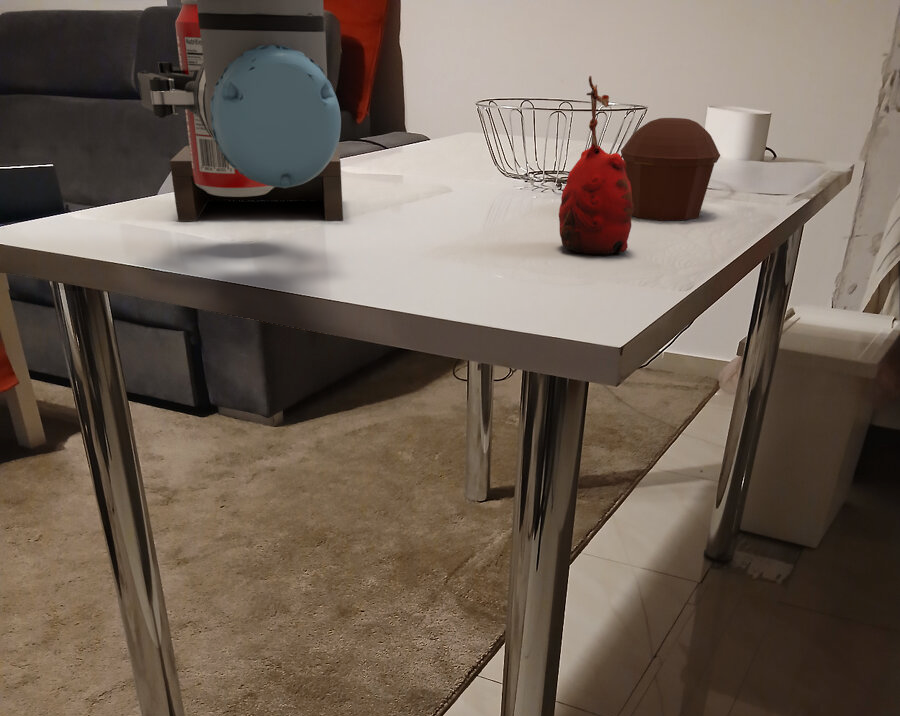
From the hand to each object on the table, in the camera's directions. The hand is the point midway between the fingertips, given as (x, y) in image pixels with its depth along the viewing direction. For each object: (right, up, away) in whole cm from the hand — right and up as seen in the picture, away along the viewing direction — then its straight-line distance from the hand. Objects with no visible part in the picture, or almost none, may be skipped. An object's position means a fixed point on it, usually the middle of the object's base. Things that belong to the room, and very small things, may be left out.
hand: (221, 84), depth 83 cm
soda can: (+1, -10, +1) cm, 10 cm away
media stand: (-1, -2, +22) cm, 22 cm away
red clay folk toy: (+35, -13, +6) cm, 38 cm away
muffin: (+47, -2, +24) cm, 52 cm away
